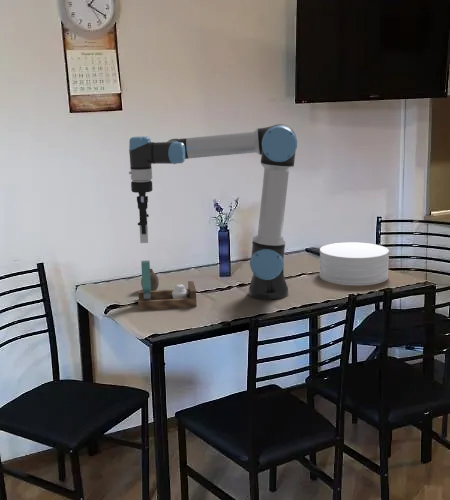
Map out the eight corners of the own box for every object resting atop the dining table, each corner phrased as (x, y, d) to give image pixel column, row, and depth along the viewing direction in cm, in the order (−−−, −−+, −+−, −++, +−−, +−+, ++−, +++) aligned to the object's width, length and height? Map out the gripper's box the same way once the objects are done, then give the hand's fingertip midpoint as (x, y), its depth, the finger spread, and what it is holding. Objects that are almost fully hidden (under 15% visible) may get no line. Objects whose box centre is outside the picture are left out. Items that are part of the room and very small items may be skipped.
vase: (145, 294, 269) (144, 272, 267) (139, 290, 275) (137, 268, 273) (161, 291, 272) (160, 270, 270) (155, 287, 278) (154, 266, 276)
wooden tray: (193, 296, 265) (193, 281, 264) (196, 306, 252) (196, 290, 251) (138, 299, 263) (137, 283, 262) (138, 310, 250) (137, 294, 248)
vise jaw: (151, 299, 261) (149, 258, 258) (151, 307, 252) (149, 264, 249) (143, 299, 261) (141, 258, 257) (143, 307, 252) (141, 265, 248)
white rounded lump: (184, 305, 254) (183, 287, 253) (169, 303, 256) (168, 285, 255) (191, 300, 260) (190, 282, 258) (176, 299, 262) (176, 281, 260)
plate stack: (400, 282, 278) (401, 254, 276) (335, 288, 272) (335, 260, 269) (369, 265, 305) (370, 240, 302) (309, 271, 298) (309, 245, 296)
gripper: (131, 176, 258) (134, 232, 263) (130, 185, 234) (133, 246, 239) (151, 175, 259) (154, 231, 264) (152, 184, 235) (155, 245, 240)
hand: (144, 238), depth 251 cm, fingers open, 13 cm apart
